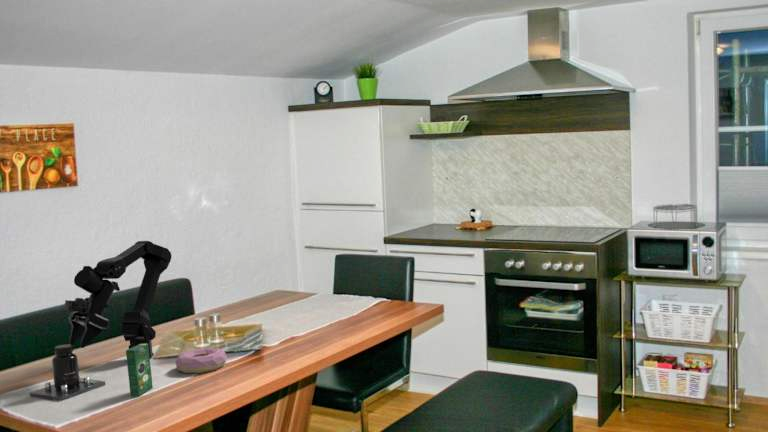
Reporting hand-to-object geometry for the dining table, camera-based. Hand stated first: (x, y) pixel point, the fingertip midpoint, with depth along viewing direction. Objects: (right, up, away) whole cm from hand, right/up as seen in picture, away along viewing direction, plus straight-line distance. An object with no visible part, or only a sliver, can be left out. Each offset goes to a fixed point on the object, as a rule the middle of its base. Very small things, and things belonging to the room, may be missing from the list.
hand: (75, 346), depth 239 cm
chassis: (+1, -11, -9) cm, 14 cm away
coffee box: (+25, -10, -17) cm, 32 cm away
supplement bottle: (+1, -11, -9) cm, 14 cm away
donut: (+37, -8, +4) cm, 38 cm away
